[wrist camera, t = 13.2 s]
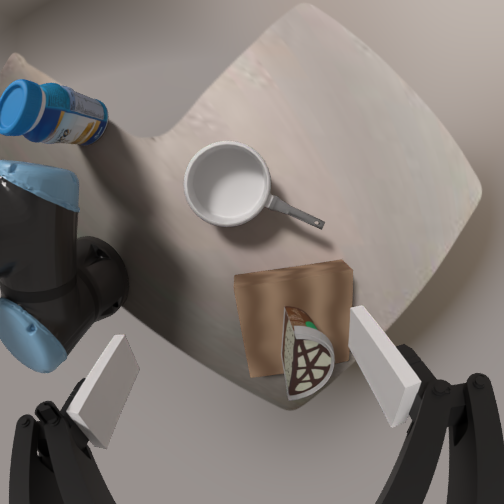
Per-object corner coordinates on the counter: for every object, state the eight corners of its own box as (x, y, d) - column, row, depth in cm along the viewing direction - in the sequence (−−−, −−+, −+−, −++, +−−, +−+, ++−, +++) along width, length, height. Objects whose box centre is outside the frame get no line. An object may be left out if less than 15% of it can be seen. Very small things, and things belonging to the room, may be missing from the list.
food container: (315, 358, 44) (329, 398, 34) (280, 360, 43) (288, 403, 34) (324, 295, 40) (345, 331, 30) (284, 297, 40) (296, 334, 30)
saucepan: (298, 251, 43) (305, 263, 38) (180, 203, 40) (171, 208, 35) (328, 186, 40) (340, 188, 35) (208, 133, 37) (203, 128, 32)
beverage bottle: (116, 99, 35) (41, 66, 15) (104, 148, 37) (21, 143, 18) (78, 99, 34) (1, 76, 15) (67, 144, 36) (-15, 143, 17)
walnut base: (249, 360, 49) (250, 377, 44) (234, 275, 44) (233, 287, 39) (340, 345, 49) (348, 360, 44) (341, 259, 44) (352, 269, 39)
